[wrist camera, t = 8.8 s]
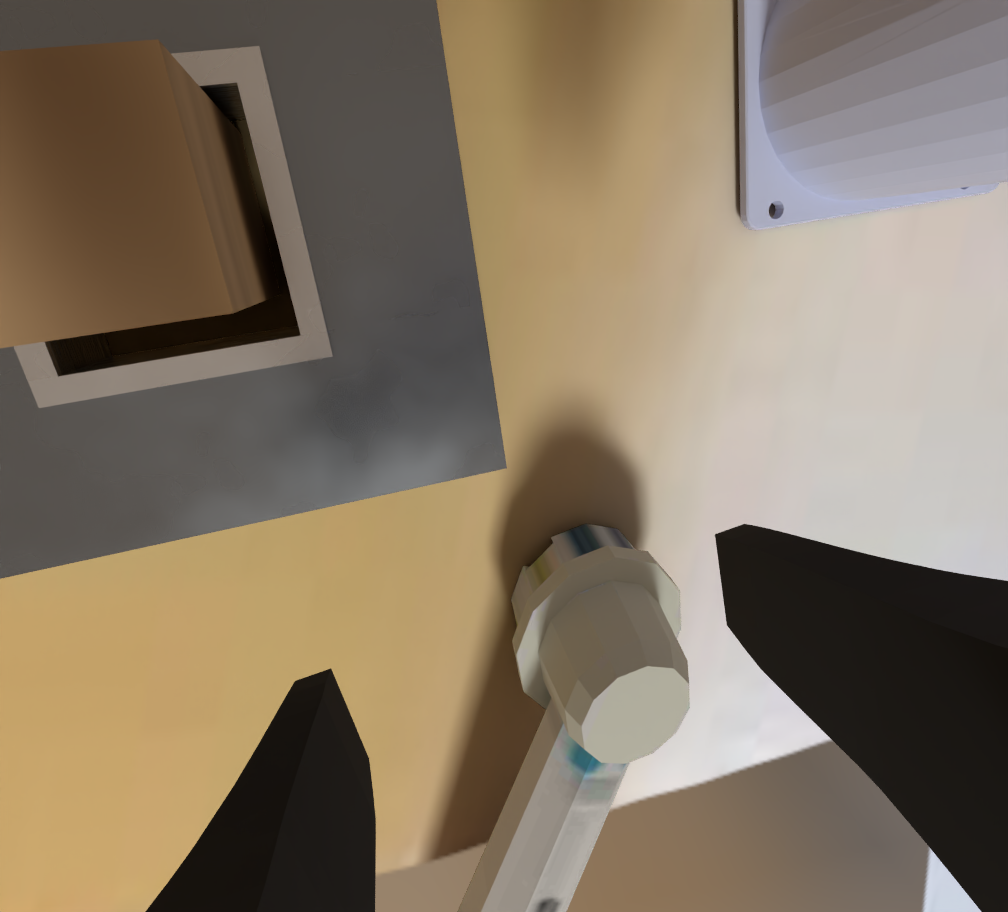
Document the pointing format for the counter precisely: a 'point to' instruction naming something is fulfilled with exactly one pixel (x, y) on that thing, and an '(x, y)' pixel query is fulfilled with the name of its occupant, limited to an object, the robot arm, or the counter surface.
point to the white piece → (581, 709)
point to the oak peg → (120, 196)
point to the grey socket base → (313, 288)
